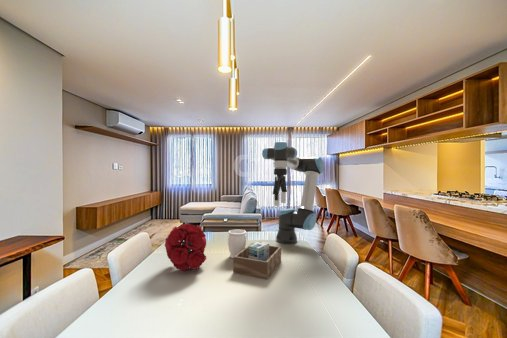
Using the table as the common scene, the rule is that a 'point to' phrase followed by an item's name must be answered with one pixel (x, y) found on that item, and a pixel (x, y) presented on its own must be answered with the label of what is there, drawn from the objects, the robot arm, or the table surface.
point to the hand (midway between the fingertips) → (280, 204)
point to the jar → (236, 241)
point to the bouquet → (186, 246)
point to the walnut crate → (256, 263)
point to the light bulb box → (259, 251)
